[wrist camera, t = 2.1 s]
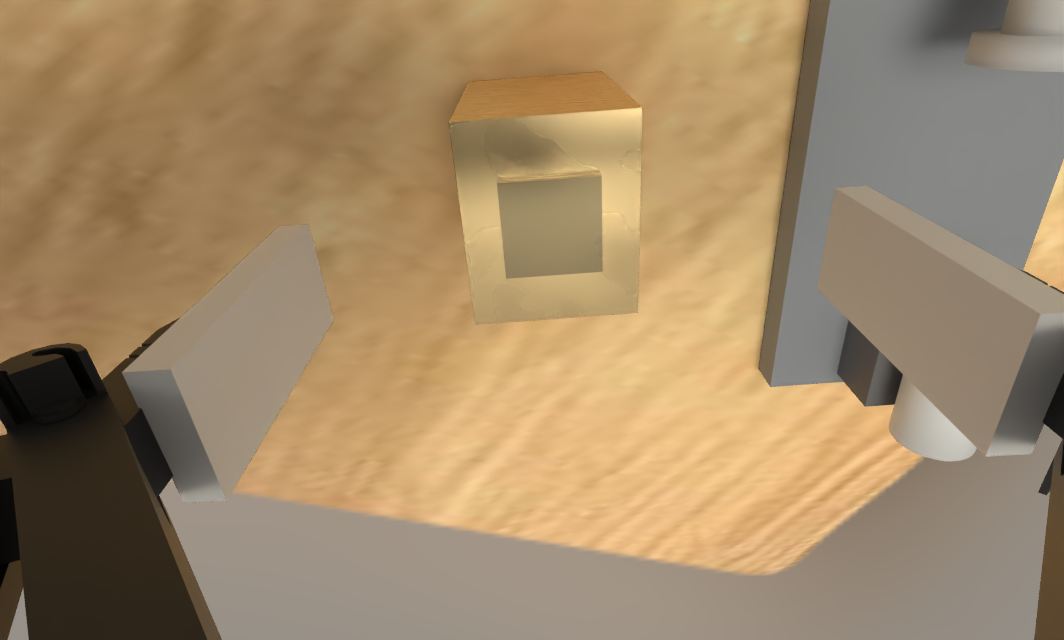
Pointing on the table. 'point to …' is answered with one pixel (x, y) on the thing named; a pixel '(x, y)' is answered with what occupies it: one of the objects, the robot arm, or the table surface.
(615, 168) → the coupler
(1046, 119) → the grey rod holder
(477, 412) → the table surface
